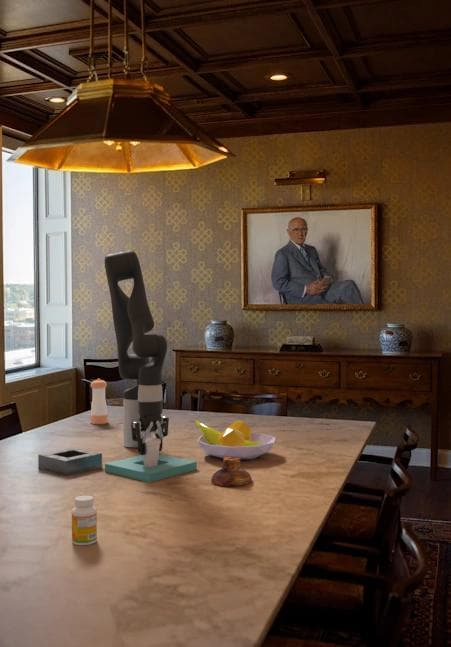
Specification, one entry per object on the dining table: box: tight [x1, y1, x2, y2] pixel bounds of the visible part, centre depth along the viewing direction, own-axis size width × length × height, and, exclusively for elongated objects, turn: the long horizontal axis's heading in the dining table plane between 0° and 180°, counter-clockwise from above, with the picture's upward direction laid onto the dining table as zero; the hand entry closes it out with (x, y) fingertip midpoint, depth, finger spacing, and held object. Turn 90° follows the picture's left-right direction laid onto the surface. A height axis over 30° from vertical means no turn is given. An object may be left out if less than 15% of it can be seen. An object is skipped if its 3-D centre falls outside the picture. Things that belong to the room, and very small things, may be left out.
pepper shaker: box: [90, 378, 109, 425], centre depth 305 cm, size 7×7×19 cm
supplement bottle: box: [71, 495, 98, 547], centre depth 155 cm, size 5×5×10 cm
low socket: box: [104, 453, 198, 483], centre depth 219 cm, size 20×20×2 cm
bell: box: [210, 457, 253, 488], centre depth 205 cm, size 12×12×7 cm
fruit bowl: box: [194, 419, 276, 461], centre depth 240 cm, size 28×27×11 cm
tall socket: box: [37, 447, 103, 477], centre depth 223 cm, size 14×14×4 cm
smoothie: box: [143, 431, 161, 467], centre depth 219 cm, size 6×6×14 cm
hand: (150, 452), depth 219 cm, fingers closed on smoothie, 6 cm apart
